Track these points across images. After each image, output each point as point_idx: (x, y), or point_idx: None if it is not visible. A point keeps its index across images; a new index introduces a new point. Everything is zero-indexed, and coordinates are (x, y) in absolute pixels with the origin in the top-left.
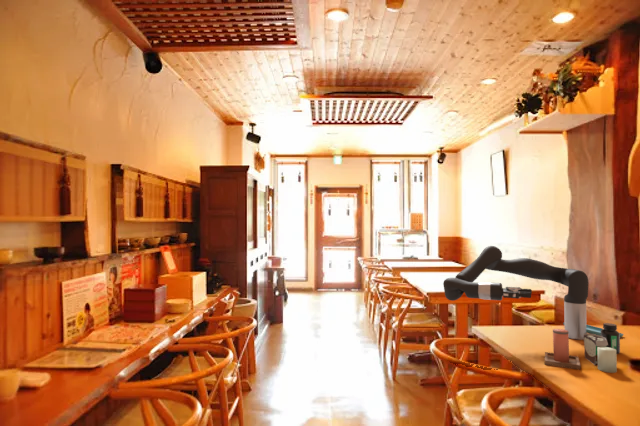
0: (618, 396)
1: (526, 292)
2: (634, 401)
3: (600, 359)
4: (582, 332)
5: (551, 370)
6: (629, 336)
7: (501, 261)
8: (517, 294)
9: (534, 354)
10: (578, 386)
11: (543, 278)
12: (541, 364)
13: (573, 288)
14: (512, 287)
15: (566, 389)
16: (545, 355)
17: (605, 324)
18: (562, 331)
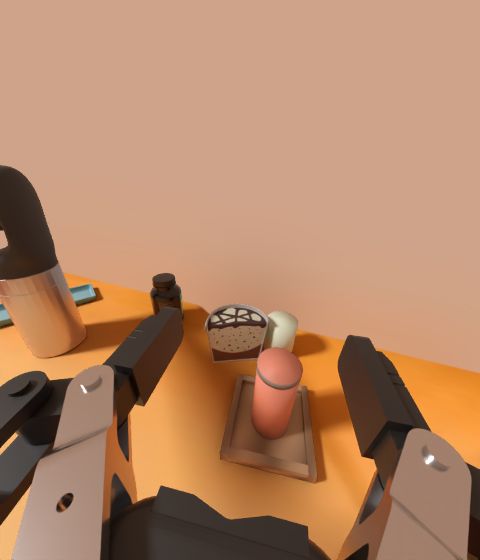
0: (416, 371)
1: (381, 364)
2: (416, 358)
3: (290, 344)
4: (81, 322)
5: (360, 472)
6: (90, 282)
7: None
8: None
9: (210, 500)
10: (433, 427)
11: None
12: (319, 497)
13: (25, 229)
14: (40, 557)
15: None
16: (258, 460)
17: (165, 281)
18: (289, 362)
